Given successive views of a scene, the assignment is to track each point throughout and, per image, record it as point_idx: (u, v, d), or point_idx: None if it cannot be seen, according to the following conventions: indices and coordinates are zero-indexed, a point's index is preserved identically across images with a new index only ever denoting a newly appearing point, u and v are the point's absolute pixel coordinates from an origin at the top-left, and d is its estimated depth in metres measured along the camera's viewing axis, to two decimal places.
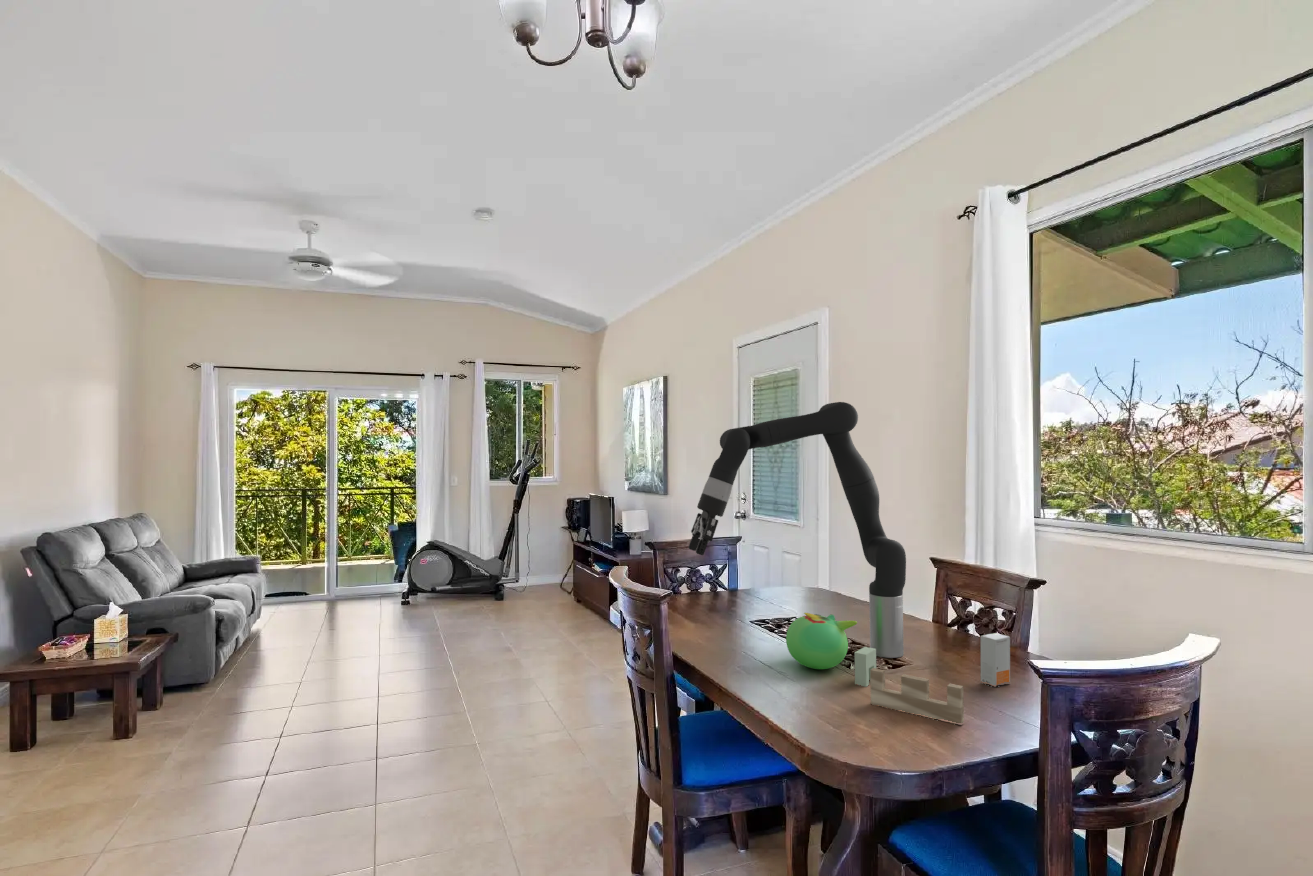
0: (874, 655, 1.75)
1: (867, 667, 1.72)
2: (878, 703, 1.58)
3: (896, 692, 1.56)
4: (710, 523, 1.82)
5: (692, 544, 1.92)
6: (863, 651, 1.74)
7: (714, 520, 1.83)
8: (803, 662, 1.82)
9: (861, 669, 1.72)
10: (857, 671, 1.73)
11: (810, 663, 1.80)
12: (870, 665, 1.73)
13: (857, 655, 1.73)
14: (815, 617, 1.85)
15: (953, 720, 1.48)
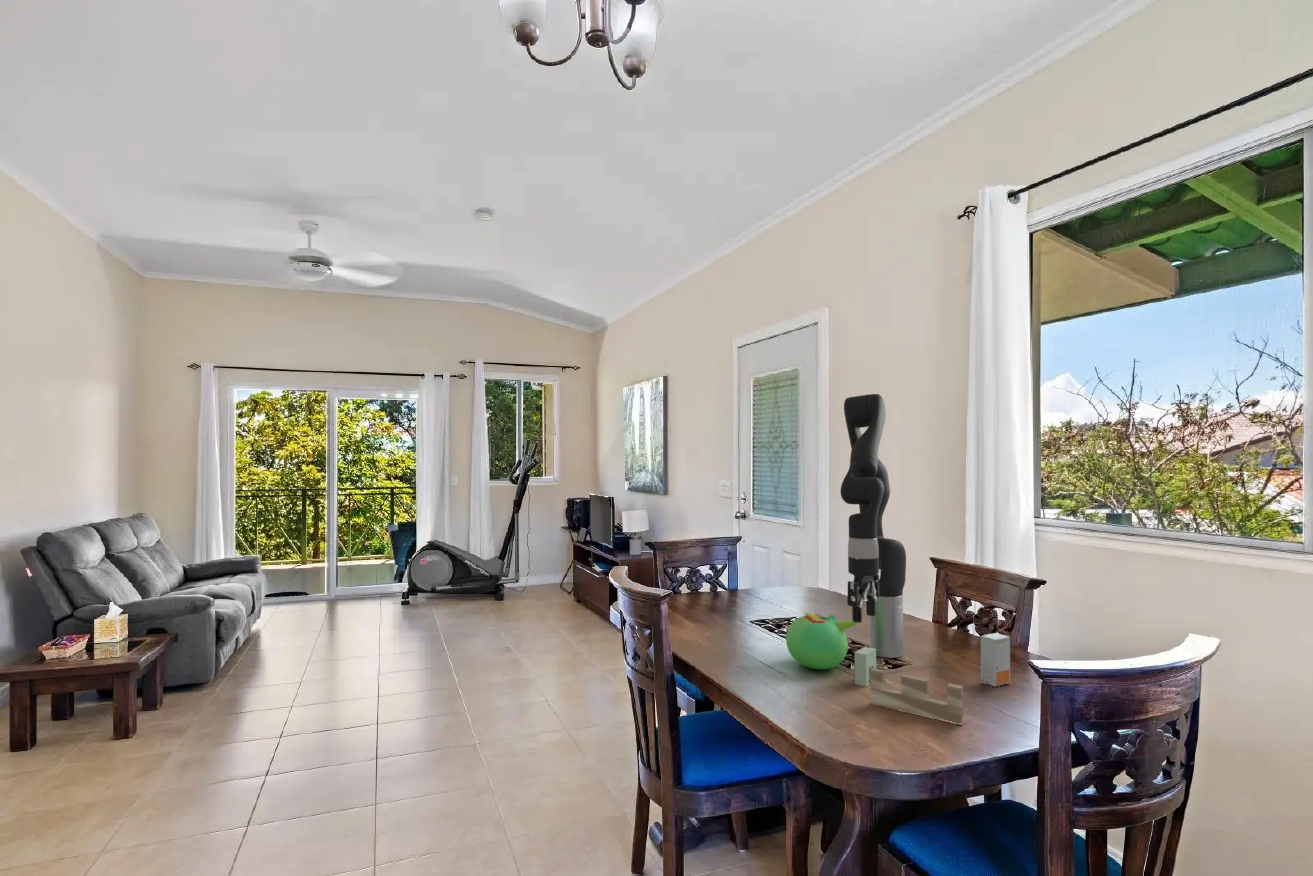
0: (874, 655, 1.75)
1: (867, 667, 1.72)
2: (878, 703, 1.58)
3: (896, 692, 1.56)
4: None
5: None
6: (863, 651, 1.74)
7: None
8: (803, 662, 1.82)
9: (861, 669, 1.72)
10: (857, 671, 1.73)
11: (810, 663, 1.80)
12: (870, 665, 1.73)
13: (857, 655, 1.73)
14: (815, 617, 1.85)
15: (953, 720, 1.48)
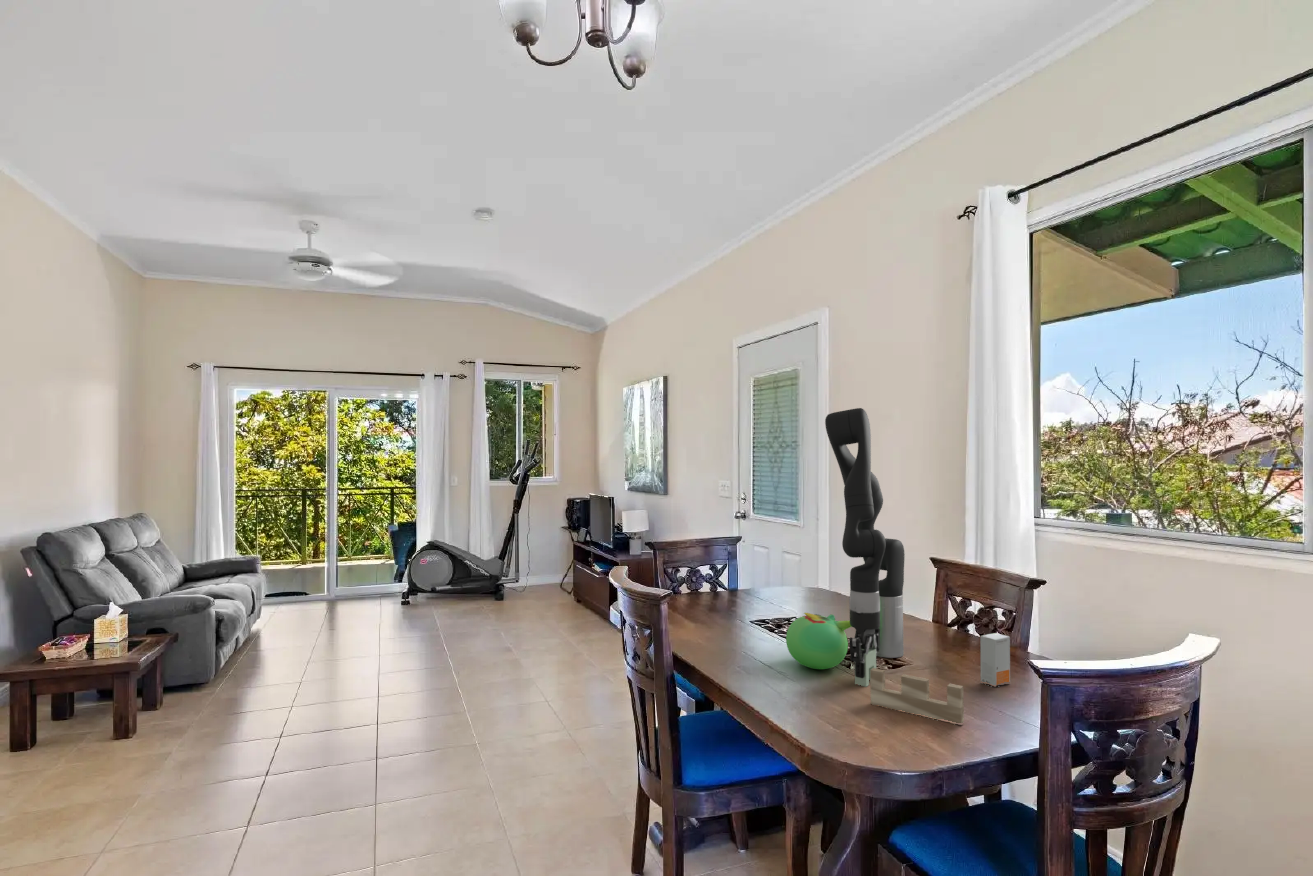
0: (874, 655, 1.75)
1: (867, 667, 1.72)
2: (878, 703, 1.58)
3: (896, 692, 1.56)
4: None
5: None
6: None
7: None
8: (803, 662, 1.82)
9: None
10: None
11: (810, 663, 1.80)
12: (870, 665, 1.73)
13: (857, 655, 1.73)
14: (815, 617, 1.85)
15: (953, 720, 1.48)
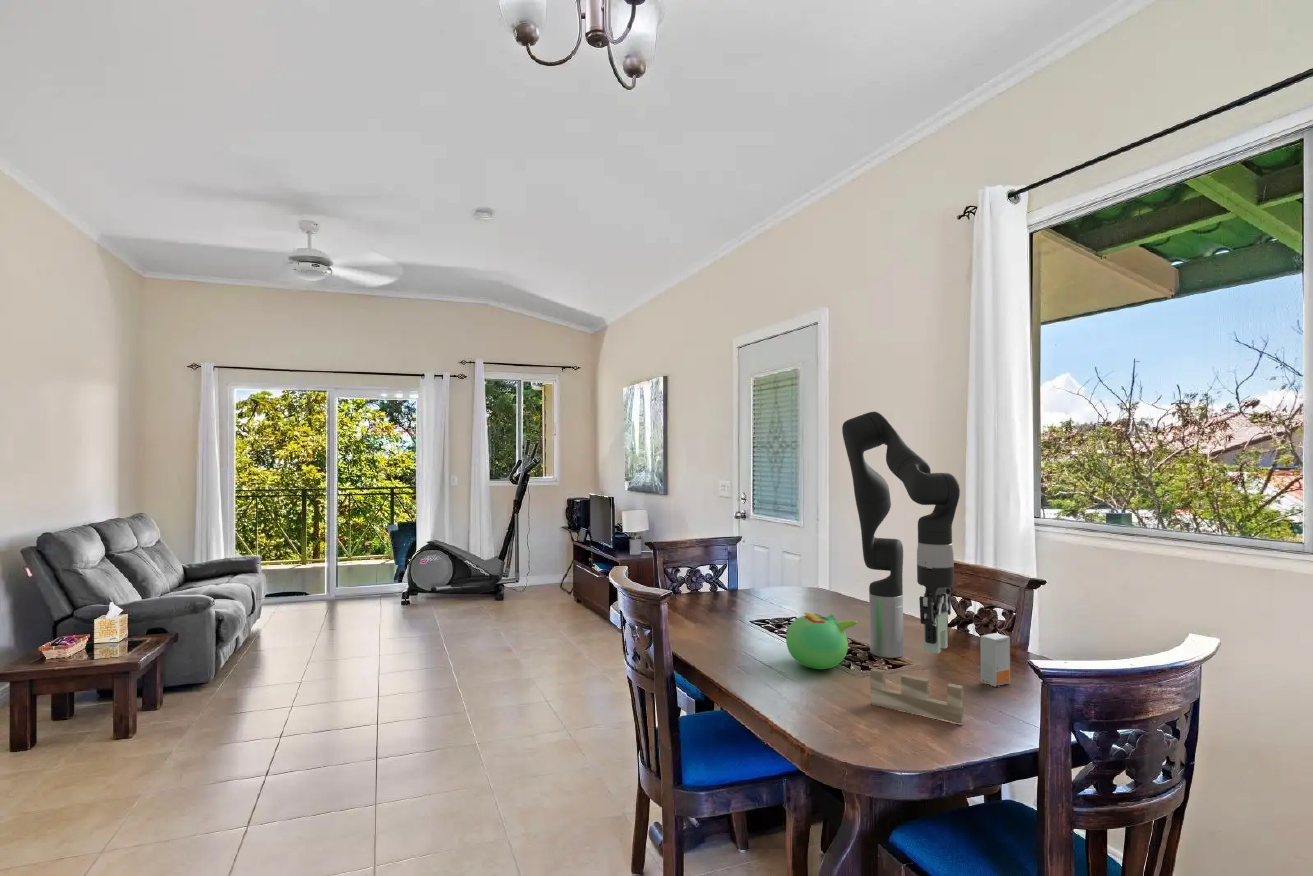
0: (945, 618, 1.52)
1: (939, 631, 1.48)
2: (878, 703, 1.58)
3: (896, 692, 1.56)
4: None
5: None
6: None
7: None
8: (803, 662, 1.82)
9: None
10: None
11: (810, 663, 1.80)
12: (942, 629, 1.49)
13: None
14: (815, 617, 1.85)
15: (953, 720, 1.48)
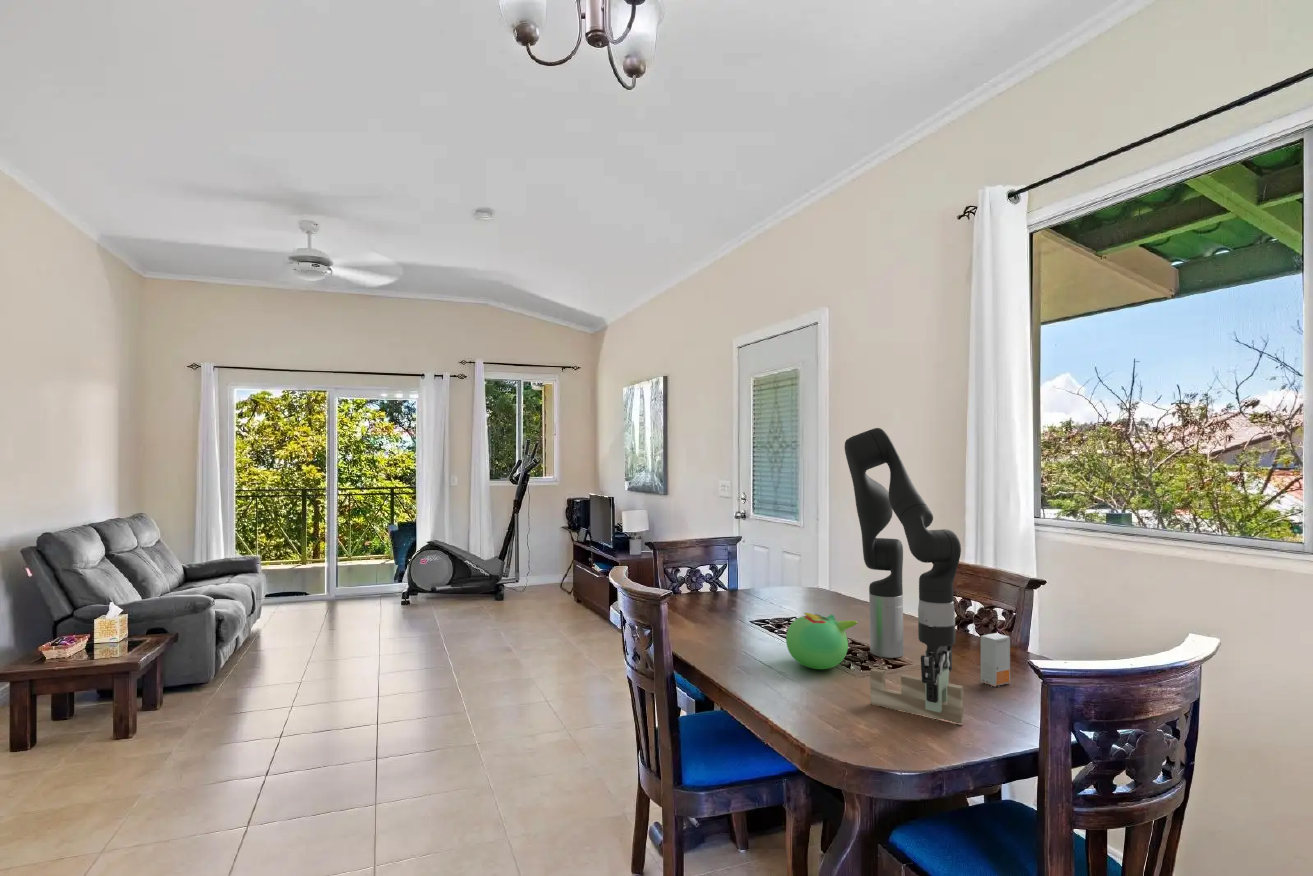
0: (947, 675, 1.51)
1: (940, 689, 1.48)
2: (878, 703, 1.58)
3: (896, 692, 1.56)
4: None
5: None
6: None
7: None
8: (803, 662, 1.82)
9: None
10: None
11: (810, 663, 1.80)
12: (943, 687, 1.49)
13: None
14: (815, 617, 1.85)
15: (953, 720, 1.48)
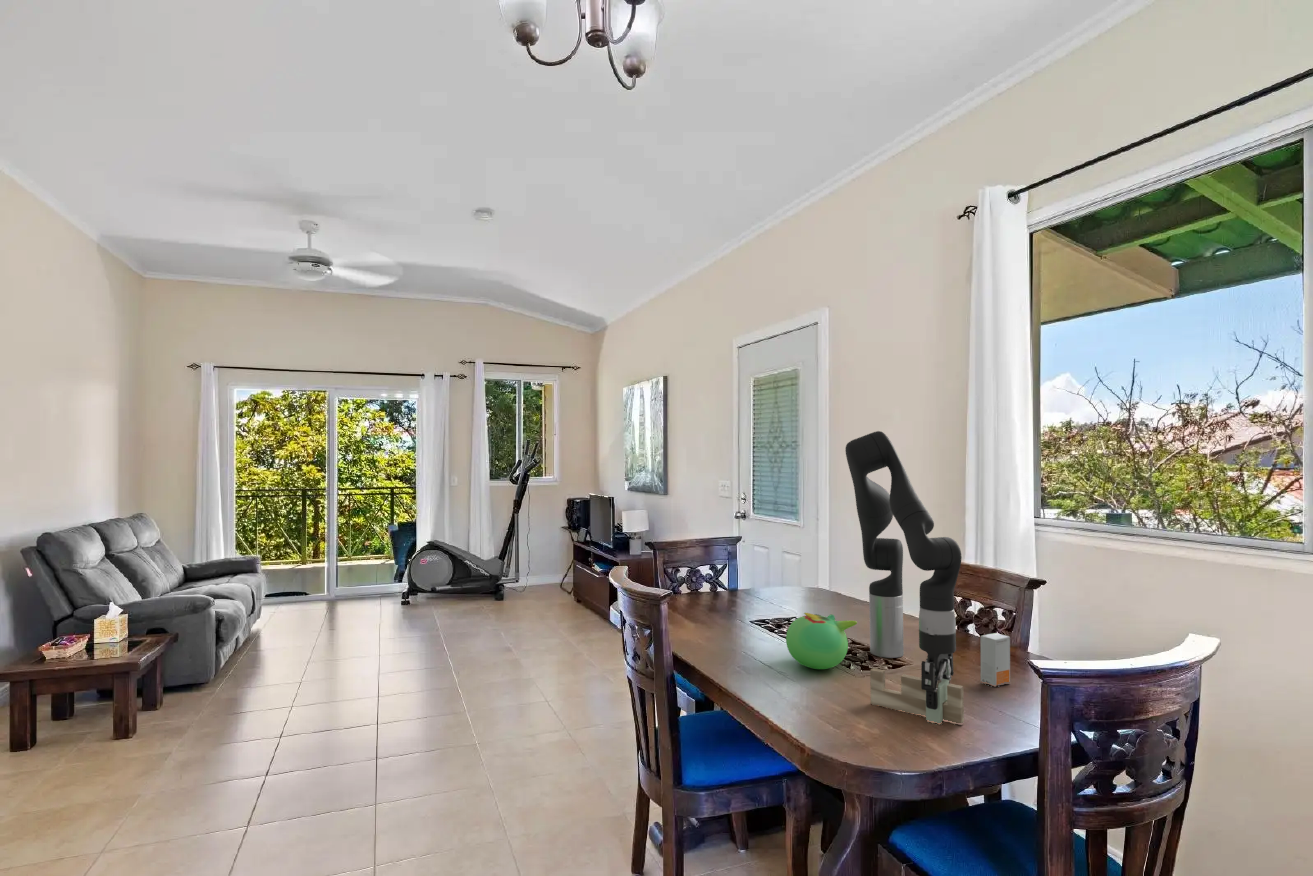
0: None
1: (941, 702, 1.48)
2: (878, 703, 1.58)
3: (896, 692, 1.56)
4: None
5: None
6: None
7: None
8: (803, 662, 1.82)
9: None
10: None
11: (810, 663, 1.80)
12: (944, 699, 1.49)
13: None
14: (815, 617, 1.85)
15: (953, 720, 1.48)
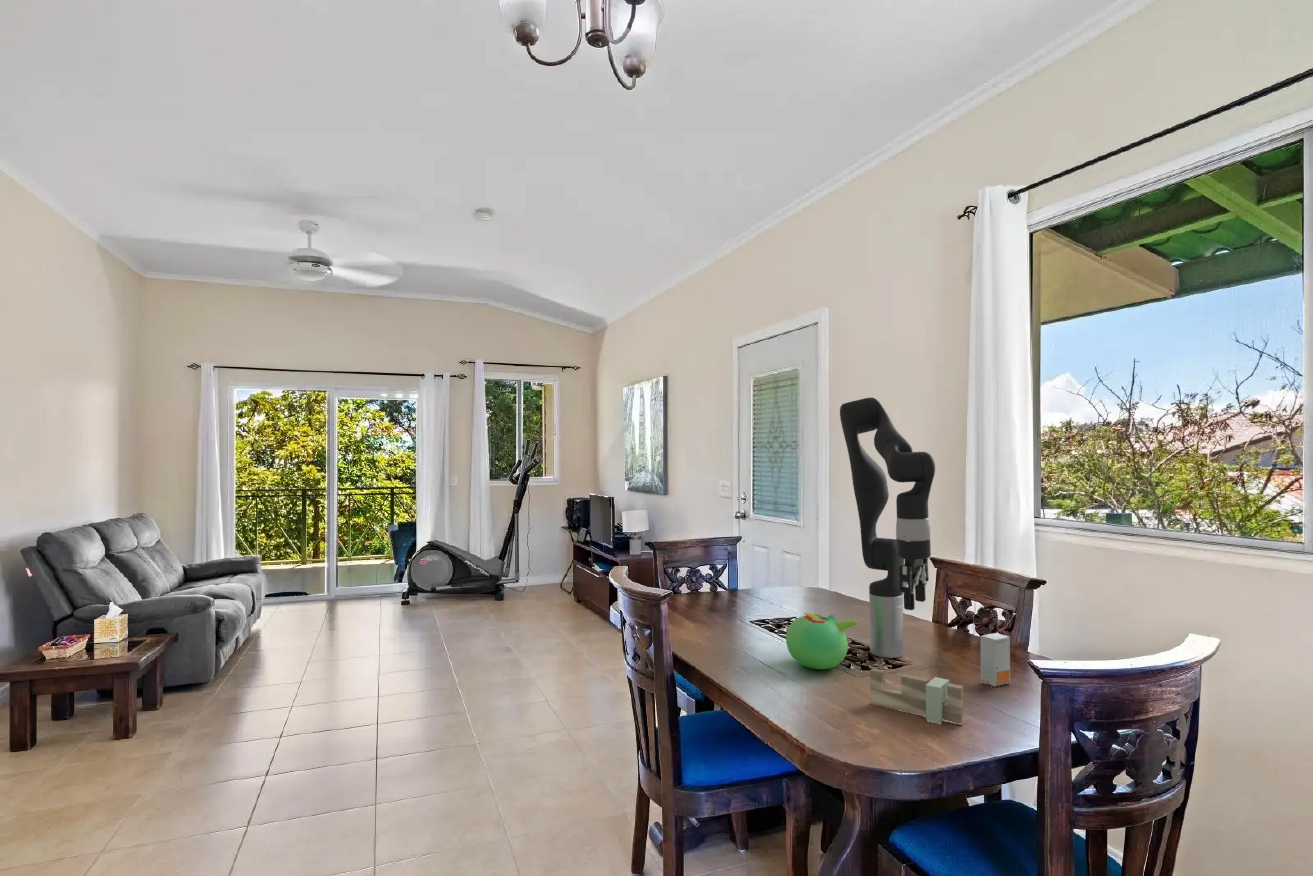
0: None
1: (941, 702, 1.48)
2: (878, 703, 1.58)
3: (896, 692, 1.56)
4: None
5: None
6: (935, 682, 1.50)
7: None
8: (803, 662, 1.82)
9: (934, 704, 1.48)
10: (929, 706, 1.49)
11: (810, 663, 1.80)
12: (944, 699, 1.49)
13: (929, 688, 1.49)
14: (815, 617, 1.85)
15: (953, 720, 1.48)
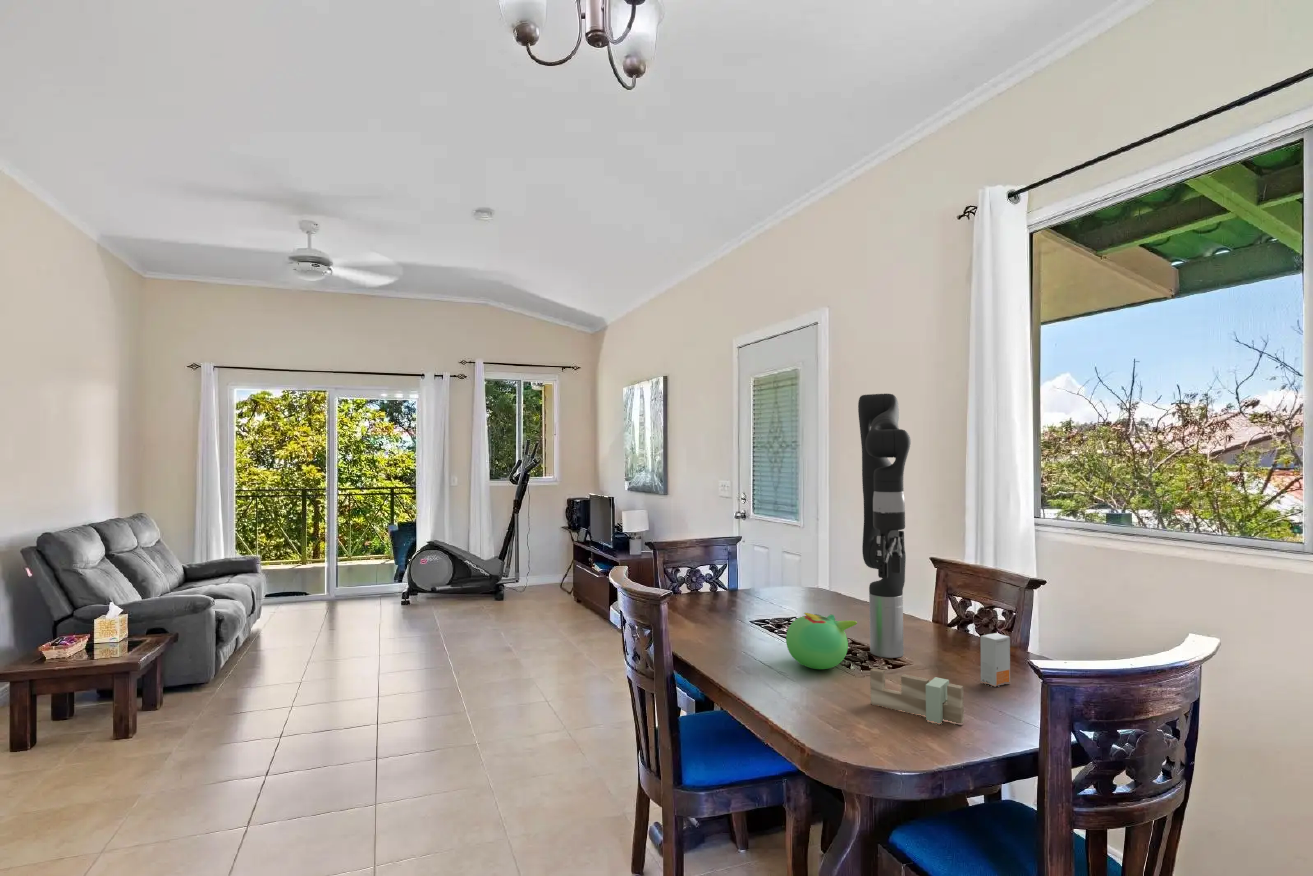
0: None
1: (941, 702, 1.48)
2: (878, 703, 1.58)
3: (896, 692, 1.56)
4: None
5: None
6: (935, 682, 1.50)
7: None
8: (803, 662, 1.82)
9: (934, 704, 1.48)
10: (929, 706, 1.49)
11: (810, 663, 1.80)
12: (944, 699, 1.49)
13: (929, 688, 1.49)
14: (815, 617, 1.85)
15: (953, 720, 1.48)
